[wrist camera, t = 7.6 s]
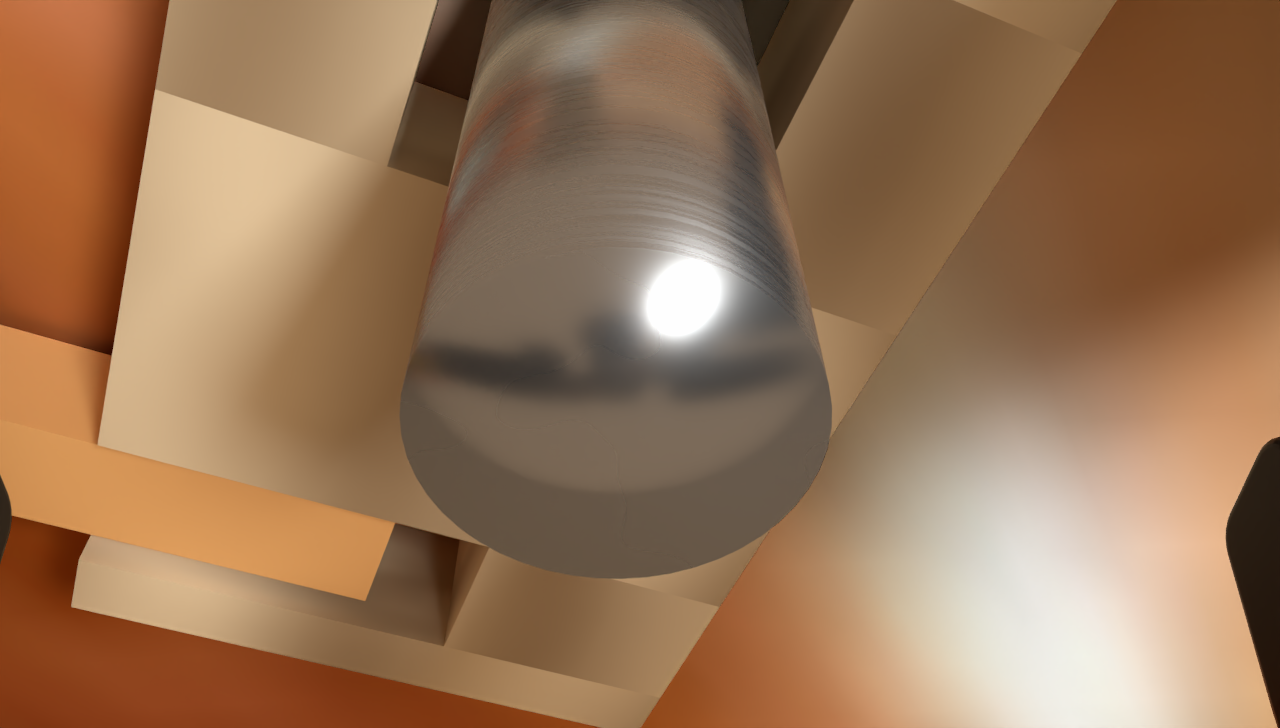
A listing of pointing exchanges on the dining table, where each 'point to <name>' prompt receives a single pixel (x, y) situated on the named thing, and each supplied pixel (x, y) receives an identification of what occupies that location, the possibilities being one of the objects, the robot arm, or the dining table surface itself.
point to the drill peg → (616, 298)
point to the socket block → (394, 288)
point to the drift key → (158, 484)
